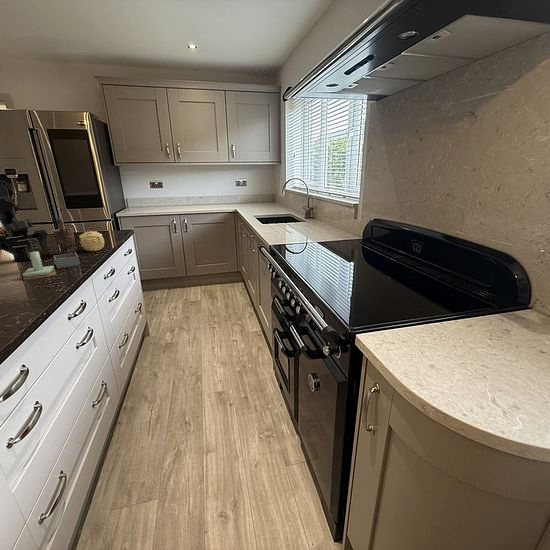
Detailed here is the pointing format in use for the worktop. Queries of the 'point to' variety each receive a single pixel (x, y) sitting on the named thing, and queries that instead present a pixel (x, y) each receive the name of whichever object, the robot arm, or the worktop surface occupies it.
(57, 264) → the storage box
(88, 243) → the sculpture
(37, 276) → the walnut board
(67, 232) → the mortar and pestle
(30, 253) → the lid
